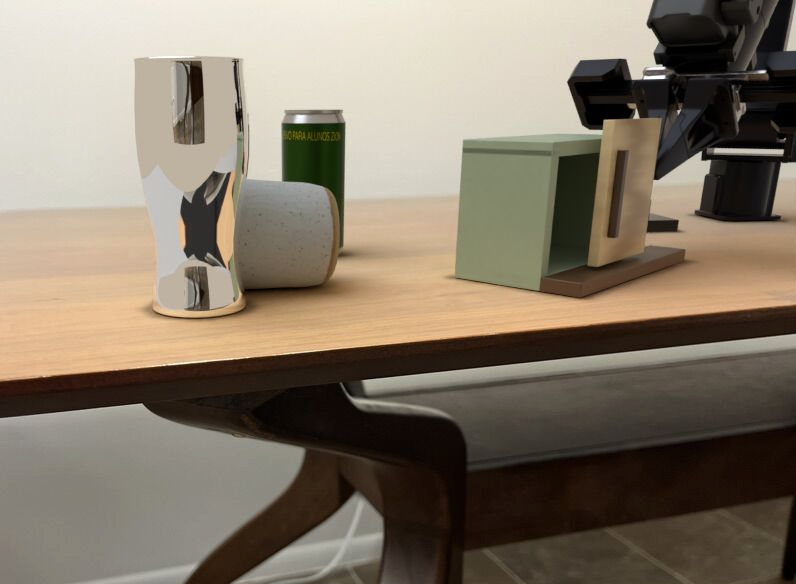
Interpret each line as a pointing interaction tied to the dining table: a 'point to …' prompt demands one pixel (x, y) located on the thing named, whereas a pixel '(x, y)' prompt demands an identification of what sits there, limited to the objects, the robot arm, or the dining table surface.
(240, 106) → the beer glass
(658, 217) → the block
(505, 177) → the cabinet
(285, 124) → the beer can
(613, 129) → the door
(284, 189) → the ceramic mug
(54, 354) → the dining table surface
